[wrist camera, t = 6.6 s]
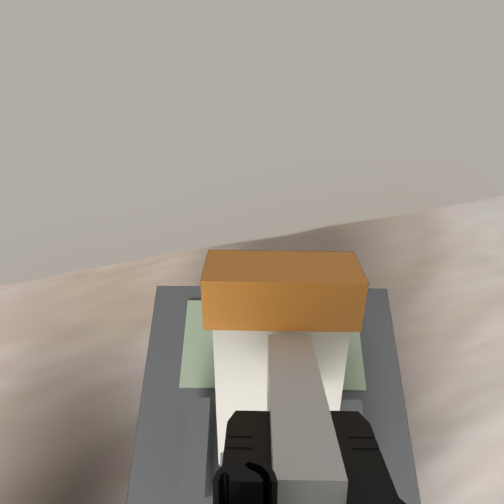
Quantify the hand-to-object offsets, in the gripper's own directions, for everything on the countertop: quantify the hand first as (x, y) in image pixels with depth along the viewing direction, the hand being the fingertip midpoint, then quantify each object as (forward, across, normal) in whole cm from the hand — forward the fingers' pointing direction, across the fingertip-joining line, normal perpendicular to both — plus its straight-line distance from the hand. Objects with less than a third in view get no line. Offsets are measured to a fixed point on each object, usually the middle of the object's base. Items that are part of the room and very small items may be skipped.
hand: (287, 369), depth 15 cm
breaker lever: (+3, 0, -7) cm, 7 cm away
